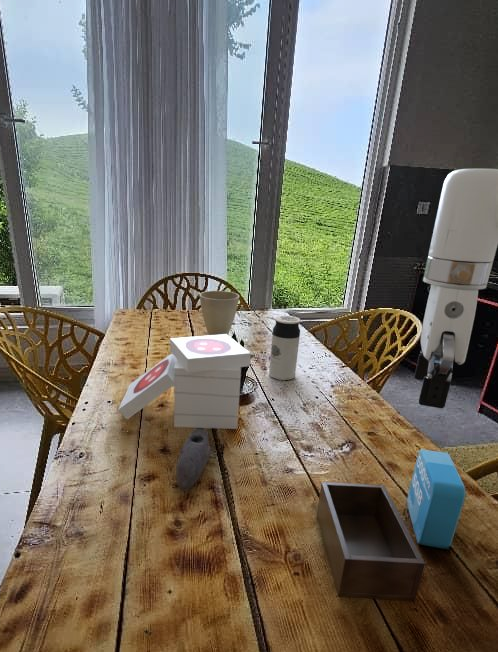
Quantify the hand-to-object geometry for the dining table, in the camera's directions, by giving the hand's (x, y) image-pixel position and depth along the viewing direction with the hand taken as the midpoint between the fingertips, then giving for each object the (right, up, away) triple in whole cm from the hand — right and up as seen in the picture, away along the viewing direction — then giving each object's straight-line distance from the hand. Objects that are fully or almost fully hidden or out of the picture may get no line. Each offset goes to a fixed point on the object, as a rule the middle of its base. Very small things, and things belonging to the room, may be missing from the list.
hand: (427, 392), depth 64 cm
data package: (+5, -24, +11) cm, 27 cm away
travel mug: (-11, +2, +72) cm, 73 cm away
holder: (-8, -25, +5) cm, 27 cm away
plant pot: (-30, +17, +108) cm, 113 cm away
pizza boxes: (-39, -8, +46) cm, 61 cm away
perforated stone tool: (-36, -17, +22) cm, 45 cm away
